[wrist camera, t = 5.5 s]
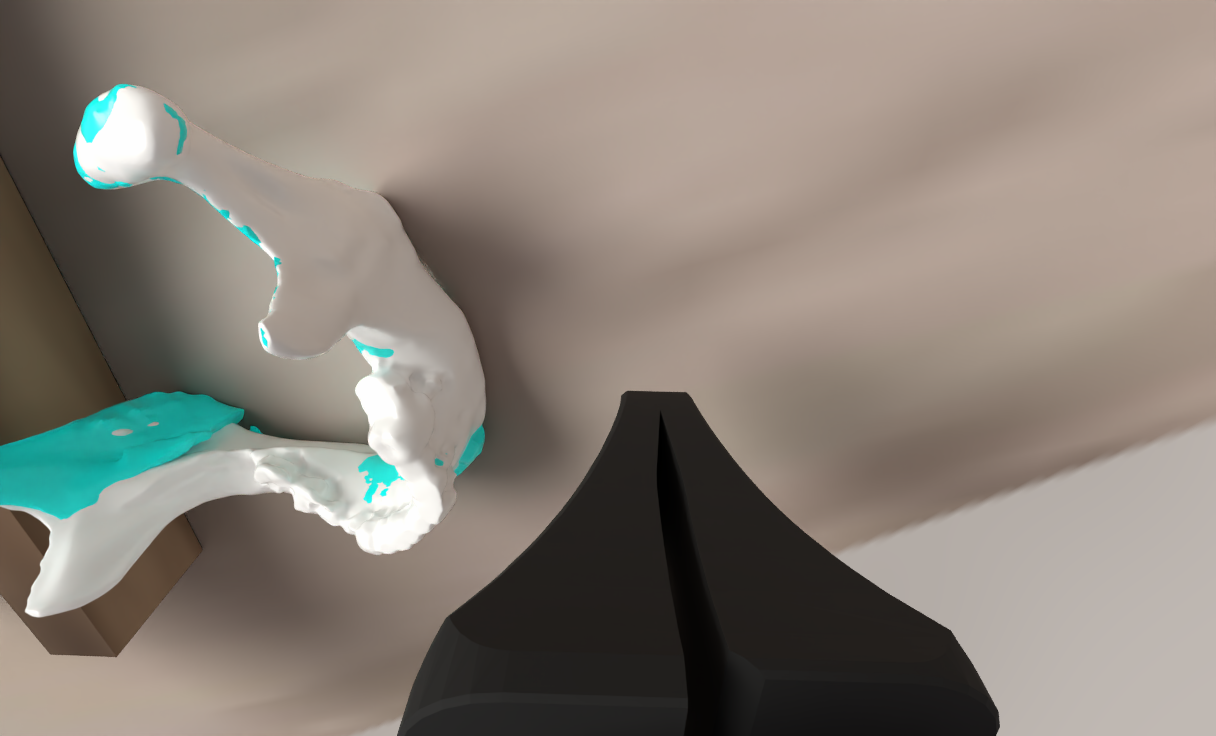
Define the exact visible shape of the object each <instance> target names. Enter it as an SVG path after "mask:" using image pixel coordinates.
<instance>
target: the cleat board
mask: <svg viewBox="0 0 1216 736" xmlns="http://www.w3.org/2000/svg"><path fill="white" fill-rule="evenodd" d="M125 401H126V400H125V398H124V396H123V394H122V392H121V390H120V388H119V386H118V384H117V383H116V381H115V379H114V377H113V375H112V373H111V371H110V369H109V367H108V365H107V363H106V361H105V359H104V357H103V355H102V353H101V351H100V349H99V347H98V346H97V344H96V342H95V340H94V338H93V336H92V334H91V332H90V330H89V328H88V326H87V324H86V322H85V320H84V318H83V316H82V314H81V312H80V311H79V309H78V307H77V305H76V303H75V301H74V299H73V297H72V295H71V293H70V291H69V289H68V287H67V285H66V283H65V281H64V279H63V277H62V276H61V274H60V272H59V270H58V268H57V266H56V264H55V262H54V260H53V258H52V256H51V254H50V252H49V250H48V248H47V246H46V244H45V242H44V241H43V239H42V237H41V235H40V233H39V231H38V229H37V227H36V225H35V223H34V221H33V219H32V217H31V215H30V213H29V211H28V209H27V207H26V206H25V204H24V202H23V200H22V198H21V196H20V194H19V192H18V190H17V188H16V186H15V184H14V182H13V180H12V178H11V176H10V174H9V172H8V171H7V169H6V167H5V165H4V163H3V161H2V159H1V157H0V446H2V445H5V444H8V443H12V442H15V441H19V440H22V439H25V438H28V437H31V436H34V435H38V434H41V433H44V432H46V431H49V430H52V429H55V428H58V427H61V426H63V425H66V424H68V423H70V422H72V421H74V420H77V419H81V418H85V417H87V416H89V415H92V414H94V413H97V412H99V411H100V410H102V409H105V408H107V407H111V406H113V405H116V404H118V403H122V402H125ZM49 536H50V530H49V529H48V527H47V526H45V525H44V524H43V523H42V522H41V521H40V520H39V519H37V518H35V517H34V516H32V515H31V514H29V513H27V512H24V511H16V510H9V509H6V508H3V507H0V594H1V595H2V596H3V598H4V599H5V600H6V601H7V603H8V604H9V605H10V606H11V607H12V609H13V610H14V611H15V612H16V613H17V615H18V616H19V617H20V618H21V619H22V621H23V622H24V623H25V624H26V625H27V627H28V628H29V629H30V630H31V632H32V633H33V634H34V635H35V636H36V638H37V639H38V640H39V641H40V642H41V644H42V645H43V646H44V647H45V648H46V650H47V651H48V652H49V653H50V654H53V655H79V656H105V657H117V656H118V655H119V653H120V652H121V651H122V650H123V648H124V647H125V646H126V645H127V643H128V642H129V641H130V640H131V639H132V637H133V636H134V635H135V634H136V632H137V631H138V630H139V629H140V627H141V626H142V625H143V624H144V622H145V621H146V620H147V619H148V617H149V616H150V615H151V614H152V612H153V611H154V610H155V609H156V607H157V606H158V605H159V604H160V603H161V601H162V600H163V599H164V598H165V596H166V595H167V594H168V593H169V591H170V590H171V589H172V588H173V586H174V585H175V584H176V583H177V581H178V580H179V579H180V578H181V576H182V575H183V574H184V573H185V571H186V570H187V569H188V568H189V567H190V565H191V564H192V563H193V562H194V560H195V559H196V558H197V557H198V555H199V554H200V553H201V552H202V548H201V546H200V544H199V542H198V540H197V538H196V536H195V534H194V532H193V530H192V528H191V526H190V524H189V523H188V521H187V519H186V517H185V515H184V513H183V514H181V515H179V516H178V517H176V518H175V519H174V520H172V521H171V522H170V523H169V524H168V525H167V526H166V527H165V528H164V529H163V530H162V531H161V532H160V533H159V534H158V535H157V537H156V538H155V539H154V540H153V541H152V543H151V544H150V545H149V546H148V547H147V549H146V550H145V551H144V552H143V553H142V555H141V556H140V557H139V558H138V560H137V561H136V562H135V563H134V564H133V566H132V567H131V568H130V569H129V571H128V572H127V573H126V574H125V576H124V577H123V578H122V579H121V581H120V582H119V583H118V584H117V585H115V586H114V587H113V588H112V589H111V590H109V591H108V592H107V593H105V594H104V595H102V596H101V597H99V598H97V599H95V600H94V601H92V602H90V603H88V604H86V605H84V606H82V607H79V608H76V609H73V610H70V611H66V612H62V613H58V614H54V615H50V616H45V617H40V618H39V617H33V616H31V615H29V614H27V613H26V612H25V609H26V607H27V599H28V597H29V595H30V593H31V587H32V585H33V583H34V582H35V580H36V579H37V577H38V575H39V574H40V570H41V567H40V562H41V560H42V559H43V558H44V556H45V553H46V551H47V549H48V548H49Z"/></svg>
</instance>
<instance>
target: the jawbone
mask: <svg viewBox="0 0 1216 736" xmlns="http://www.w3.org/2000/svg"><path fill="white" fill-rule="evenodd" d="M73 154H74V162H75V166H76V169H77V172H78V173H79V175H80V176H81V177H82V178H83V179H84V180H85V181H86V182H87V183H88V184H89V185H91V186H93V187H94V188H98V189H107V190H109V189H121V188H126V187H131V186H135V185H138V184H142V183H147V182H151V181H156V180H167V181H172V182H175V183H178V184H182V185H185V186H187V187H188V188H190V189H191V190H193V191H194V192H196V193H197V194H198V195H200V196H201V197H202V198H204V199H205V200H206V201H207V202H208V203H209V204H210V205H211V206H213V207H214V208H215V209H216V210H217V211H218V212H219V213H220V214H221V215H222V216H223V217H224V218H226V219H227V220H228V221H229V222H230V223H232V224H233V225H234V226H235V227H236V228H237V229H239V230H240V231H241V232H242V233H243V234H244V235H246V236H247V237H248V238H249V239H250V240H251V241H253V242H254V243H255V244H257V245H258V246H260V247H261V248H262V249H263V250H264V251H265V252H266V253H267V254H268V255H269V256H270V257H271V258H272V259H273V261H274V262H275V268H276V271H277V276H278V280H277V287H276V289H275V291H274V294H273V297H272V300H271V303H270V306H269V314H268V316H267V317H265V318H264V319H262V320H261V321H260V322H259V324H258V326H259V337H260V342H261V344H262V346H263V348H264V349H265V350H266V351H267V352H268V353H271V354H272V355H275V356H278V357H281V358H287V359H310V358H315V357H318V356H320V355H323V354H325V353H326V352H328V351H329V350H330V349H331V348H332V347H333V346H334V345H335V344H336V343H337V342H338V341H340V340H341V339H342V338H343V337H344V336H345V334H346V335H347V336H348V337H349V338H350V339H351V340H352V341H353V343H354V344H355V345H356V347H357V348H358V349H359V351H360V352H361V354H362V355H363V356H364V358H365V359H366V360H367V362H368V363H369V364H370V365H371V366H372V373H371V374H370V375H368V376H366V377H364V378H362V379H361V380H360V381H359V383H358V384H357V386H356V388H355V391H356V395H357V396H358V398H359V399H360V401H361V405H362V407H363V409H364V411H365V412H366V414H367V415H368V421H369V425H370V430H369V433H368V444H369V445H366V444H357V443H341V442H323V441H305V440H294V439H285V438H279V437H274V436H269V435H264V434H263V433H261V431H260V430H259V429H258V428H257V427H255V426H250V430H247V429H245V428H243V427H241V426H239V425H237V423H239V422H240V420H242V419H243V416H244V409H242V408H237V407H232V406H228V405H226V404H223V403H221V402H218V401H216V400H215V399H213V398H212V397H210V396H207V395H204V394H196V395H191V394H187V393H184V392H180V391H176V392H173V393H164V392H153V393H150V394H146V395H144V396H142V397H139V398H136V399H133V400H129V401H125V402H122V403H118V404H116V405H113V406H111V407H107V408H105V409H102V410H100V411H99V412H97V413H94V414H92V415H89V416H87V417H85V418H81V419H77V420H74V421H72V422H70V423H68V424H66V425H63V426H61V427H58V428H55V429H52V430H49V431H46V432H44V433H41V434H38V435H34V436H31V437H28V438H25V439H22V440H19V441H15V442H12V443H8V444H5V445H2V446H0V507H3V508H6V509H9V510H16V511H24V512H27V513H29V514H31V515H32V516H34V517H35V518H37V519H39V520H40V521H41V522H42V523H43V524H44V525H45V526H47V527H48V529H49V530H50V536H49V548H48V549H47V551H46V553H45V556H44V558H43V559H42V560H41V562H40V567H41V570H40V574H39V575H38V577H37V579H36V580H35V582H34V583H33V585H32V587H31V593H30V595H29V597H28V599H27V607H26V609H25V612H26V613H27V614H29V615H31V616H33V617H39V618H40V617H45V616H50V615H54V614H58V613H62V612H66V611H70V610H73V609H76V608H79V607H82V606H84V605H86V604H88V603H90V602H92V601H94V600H95V599H97V598H99V597H101V596H102V595H104V594H105V593H107V592H108V591H109V590H111V589H112V588H113V587H114V586H115V585H117V584H118V583H119V582H120V581H121V579H122V578H123V577H124V576H125V574H126V573H127V572H128V571H129V569H130V568H131V567H132V566H133V564H134V563H135V562H136V561H137V560H138V558H139V557H140V556H141V555H142V553H143V552H144V551H145V550H146V549H147V547H148V546H149V545H150V544H151V543H152V541H153V540H154V539H155V538H156V537H157V535H158V534H159V533H160V532H161V531H162V530H163V529H164V528H165V527H166V526H167V525H168V524H169V523H170V522H171V521H172V520H174V519H175V518H176V517H178V516H179V515H181V514H183V513H185V512H186V511H188V510H190V509H192V508H194V507H196V506H198V505H200V504H202V503H205V502H208V501H211V500H215V499H219V498H223V497H227V496H233V495H257V494H263V493H273V492H276V493H282V492H286V493H289V494H292V496H293V499H294V508H295V509H296V510H297V511H302V512H304V513H313V514H319V515H320V516H321V518H322V519H324V520H325V521H326V522H327V523H328V524H330V525H332V526H341V527H343V529H344V530H345V531H346V533H348V534H353V535H356V540H357V543H358V545H359V547H360V548H361V549H362V550H363V551H365V552H367V553H371V554H374V555H381V554H383V553H384V554H394V553H396V552H398V551H404V550H408V549H411V547H412V546H413V545H414V544H415V543H417V542H419V541H420V540H421V539H422V538H423V537H424V536H425V535H426V533H428V532H430V531H431V530H432V529H433V528H434V527H435V526H436V525H437V524H439V523H440V522H441V521H442V520H443V519H444V518H445V517H446V516H447V515H448V513H449V512H450V510H451V509H452V507H453V506H454V504H455V502H456V499H457V492H456V490H455V489H454V480H455V478H456V477H457V476H458V475H459V474H461V473H462V472H463V471H464V470H465V469H466V468H467V467H468V466H469V465H470V464H471V463H472V462H473V461H474V460H475V458H476V457H477V456H478V455H479V454H481V452H482V449H483V445H484V442H485V430H484V428H483V426H482V423H483V421H484V418H485V412H486V394H485V378H484V373H483V369H482V365H481V362H480V357H479V354H478V350H477V347H476V343H475V340H474V337H473V334H472V332H471V329H470V327H469V324H468V322H467V320H466V318H465V316H464V314H463V312H462V311H461V309H460V308H459V307H458V306H457V305H456V304H455V303H454V302H453V301H452V300H451V299H450V297H449V296H448V295H447V294H446V293H445V292H444V291H443V290H442V288H441V287H440V286H439V285H438V283H437V282H436V281H435V280H434V279H433V278H432V277H431V276H430V275H429V273H428V272H427V271H426V269H425V268H424V267H423V265H422V264H421V262H420V260H419V258H418V255H417V253H416V250H415V248H414V247H413V245H412V243H411V241H410V239H409V238H408V236H407V234H406V232H405V231H404V229H403V226H402V222H401V220H400V218H399V217H398V215H397V214H396V213H395V211H394V210H393V208H392V206H391V205H390V204H389V202H388V201H387V200H386V199H385V198H384V197H382V196H381V195H379V194H377V193H375V192H372V191H367V190H361V189H356V188H352V187H350V186H348V185H346V184H344V183H341V182H339V181H336V180H333V179H315V178H311V177H307V176H304V175H301V174H298V173H295V172H292V171H289V170H287V169H284V168H281V167H278V166H276V165H273V164H271V163H268V162H266V161H263V160H261V159H259V158H257V157H254V156H252V155H250V154H248V153H246V152H244V151H242V150H240V149H238V148H236V147H234V146H232V145H230V144H228V143H226V142H224V141H222V140H220V139H218V138H217V137H215V136H213V135H211V134H210V133H208V132H206V131H204V130H203V129H201V128H200V127H198V126H196V125H195V124H193V123H191V122H190V121H188V120H187V118H186V116H185V114H184V113H183V111H182V110H181V109H180V108H179V107H178V106H177V105H176V104H175V103H173V102H172V101H170V100H169V99H167V98H165V97H164V96H162V95H160V94H159V93H157V92H155V91H153V90H150V89H148V88H145V87H142V86H138V85H128V84H118V85H116V86H115V87H113V88H112V89H111V90H109V91H107V92H105V93H103V94H101V95H99V96H98V97H97V98H95V99H94V100H93V101H91V102H90V103H89V105H88V106H87V107H86V109H85V112H84V116H83V120H82V122H81V125H80V128H79V130H78V133H77V137H76V141H75V144H74V150H73Z"/></svg>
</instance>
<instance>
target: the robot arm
mask: <svg viewBox="0 0 1216 736" xmlns="http://www.w3.org/2000/svg"><path fill="white" fill-rule="evenodd" d="M999 728H1000V724H999V712H998V710H997V708H996V706H995V705H994V702H993V701H992V699H991V697H990V695H989V693H988V691H987V690H986V688H985V686H984V684H983V682H982V680H981V678H980V676H979V675H978V673H977V671H976V669H975V668H974V666H973V664H972V663H971V661H970V659H969V658H968V656H967V655H966V653H965V652H964V650H963V649H962V647H961V646H960V644H959V643H958V641H957V640H956V638H955V636H954V635H953V633H952V632H951V630H949V629H947V628H946V627H944V626H942V625H941V624H938V623H937V622H935V621H934V620H932V619H930V618H929V617H927V616H925V615H924V614H922V613H920V612H919V611H917V610H915V609H914V608H912V607H910V606H908V605H907V604H905V603H903V602H902V601H900V600H898V599H896V598H895V597H893V596H892V595H890V594H888V593H887V592H885V591H884V590H882V589H880V588H879V587H878V586H876V585H875V584H873V583H872V582H870V581H869V580H867V579H866V578H864V577H863V576H861V575H860V574H859V573H857V572H856V571H854V570H853V569H851V568H850V567H849V566H847V565H846V564H845V563H843V562H842V561H840V560H839V559H838V558H836V557H835V556H834V555H832V554H831V553H830V552H829V551H827V550H826V549H825V548H824V547H822V546H821V545H820V544H819V543H817V542H816V541H815V540H814V539H812V538H811V537H810V536H809V535H807V534H806V533H805V532H804V531H802V530H801V529H800V528H799V527H798V526H797V525H796V524H794V523H793V522H792V521H791V520H790V519H789V518H788V517H787V516H785V515H784V514H783V513H782V512H781V511H780V510H779V509H778V508H777V507H776V506H775V505H774V504H773V503H772V502H771V501H770V500H769V499H768V498H767V497H766V496H765V495H764V494H763V493H762V492H761V490H760V489H759V488H758V487H757V486H756V485H755V484H754V483H753V482H752V480H751V479H750V478H749V477H748V476H747V475H746V474H745V472H744V471H743V470H742V469H741V468H740V467H739V465H738V464H737V463H736V462H735V460H734V459H733V458H732V457H731V455H730V454H729V453H728V451H727V450H726V449H725V447H724V446H723V445H722V443H721V442H720V441H719V439H718V438H717V437H716V435H715V434H714V432H713V431H712V430H711V428H710V427H709V425H708V424H707V422H706V421H705V419H704V418H703V416H702V415H701V413H700V411H699V410H698V408H697V406H696V405H695V403H694V401H693V400H692V398H691V397H690V396H689V394H688V393H687V392H651V391H626V392H625V393H624V394H623V395H621V403H620V407H619V410H618V413H617V416H616V419H615V421H614V424H613V426H612V429H611V431H610V433H609V435H608V437H607V439H606V441H605V443H604V445H603V447H602V449H601V451H600V453H599V455H598V456H597V458H596V460H595V461H594V463H593V465H592V466H591V468H590V469H589V471H588V473H587V474H586V476H585V478H584V479H583V481H582V482H581V484H580V485H579V487H578V488H577V490H576V491H575V492H574V494H573V495H572V497H571V498H570V499H569V501H568V502H567V503H566V504H565V506H564V507H563V508H562V510H561V511H560V512H559V513H558V515H557V516H556V517H555V518H554V519H553V520H552V522H551V523H550V524H549V525H548V526H547V527H546V529H545V530H544V531H543V532H542V533H541V534H540V535H539V536H538V538H537V539H536V540H535V541H534V542H533V543H532V544H531V545H530V546H529V547H528V548H527V549H526V550H525V551H524V552H523V553H522V554H521V555H520V556H519V557H518V558H516V559H515V560H514V561H513V562H512V563H511V564H510V565H509V566H508V567H507V568H506V569H505V570H504V571H503V572H502V573H501V574H500V575H499V576H497V577H496V578H495V579H494V580H493V581H492V582H491V583H489V584H488V585H487V586H486V587H484V588H483V589H482V590H481V591H479V592H478V593H477V594H476V595H474V596H473V597H472V598H471V599H469V600H468V601H467V602H466V603H464V604H463V605H462V606H461V607H459V608H458V609H457V610H456V611H454V612H453V613H452V614H450V615H449V616H448V617H447V618H446V619H445V621H444V623H443V624H442V626H441V628H440V630H439V631H438V633H437V635H436V637H435V639H434V641H433V642H432V644H431V646H430V648H429V651H428V653H427V655H426V657H425V659H424V661H423V663H422V665H421V668H420V670H419V672H418V674H417V677H416V679H415V681H414V684H413V687H412V690H411V692H410V696H409V699H408V702H407V705H406V708H405V712H404V715H403V718H402V721H401V724H400V728H399V731H398V734H397V736H996V734H997V732H998V730H999Z"/></svg>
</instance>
